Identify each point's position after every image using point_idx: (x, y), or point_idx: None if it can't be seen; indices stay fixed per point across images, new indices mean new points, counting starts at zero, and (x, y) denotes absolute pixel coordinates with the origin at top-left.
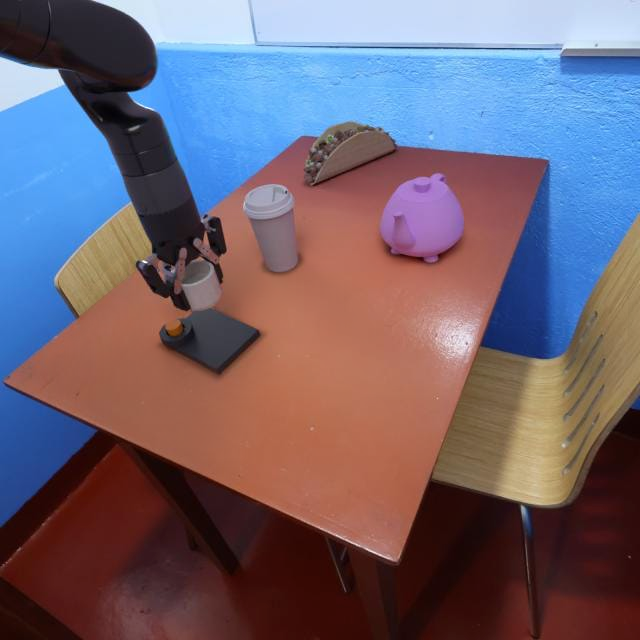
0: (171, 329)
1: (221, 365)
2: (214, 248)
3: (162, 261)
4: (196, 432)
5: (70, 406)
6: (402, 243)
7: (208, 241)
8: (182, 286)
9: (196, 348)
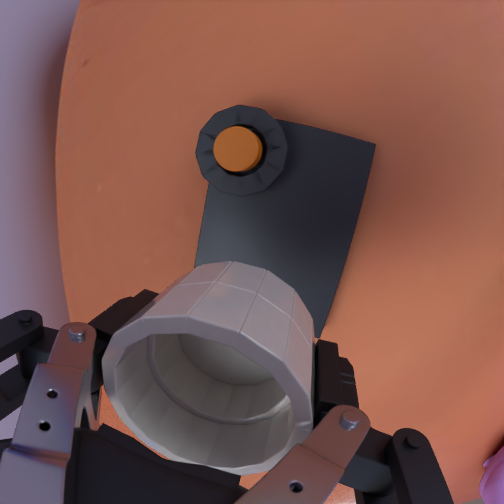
0: (216, 158)
1: None
2: (373, 477)
3: (24, 408)
4: (99, 311)
5: (67, 76)
6: (484, 489)
7: (404, 478)
8: (109, 399)
9: (222, 225)
